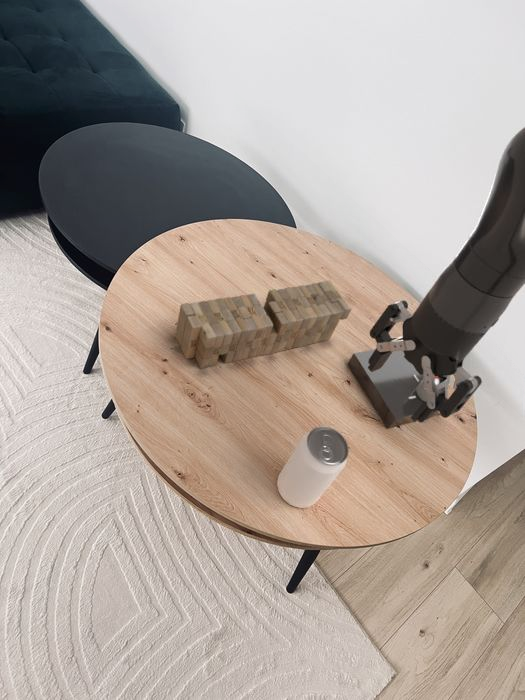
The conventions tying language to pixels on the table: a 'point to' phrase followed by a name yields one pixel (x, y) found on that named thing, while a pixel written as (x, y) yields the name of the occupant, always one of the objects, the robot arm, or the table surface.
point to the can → (312, 466)
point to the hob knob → (422, 392)
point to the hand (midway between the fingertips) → (394, 392)
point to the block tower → (259, 323)
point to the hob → (389, 386)
